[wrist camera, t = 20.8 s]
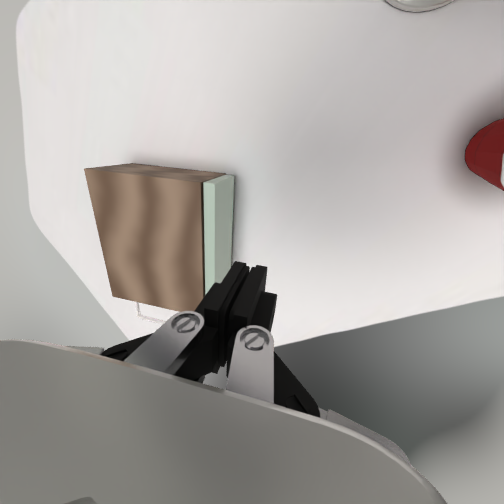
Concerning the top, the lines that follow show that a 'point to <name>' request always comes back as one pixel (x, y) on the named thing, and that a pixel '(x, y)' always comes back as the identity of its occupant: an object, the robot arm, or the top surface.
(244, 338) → the robot arm
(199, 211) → the cabinet
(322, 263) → the top surface
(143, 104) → the top surface
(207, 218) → the tray
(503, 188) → the plastic cup
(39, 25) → the top surface
